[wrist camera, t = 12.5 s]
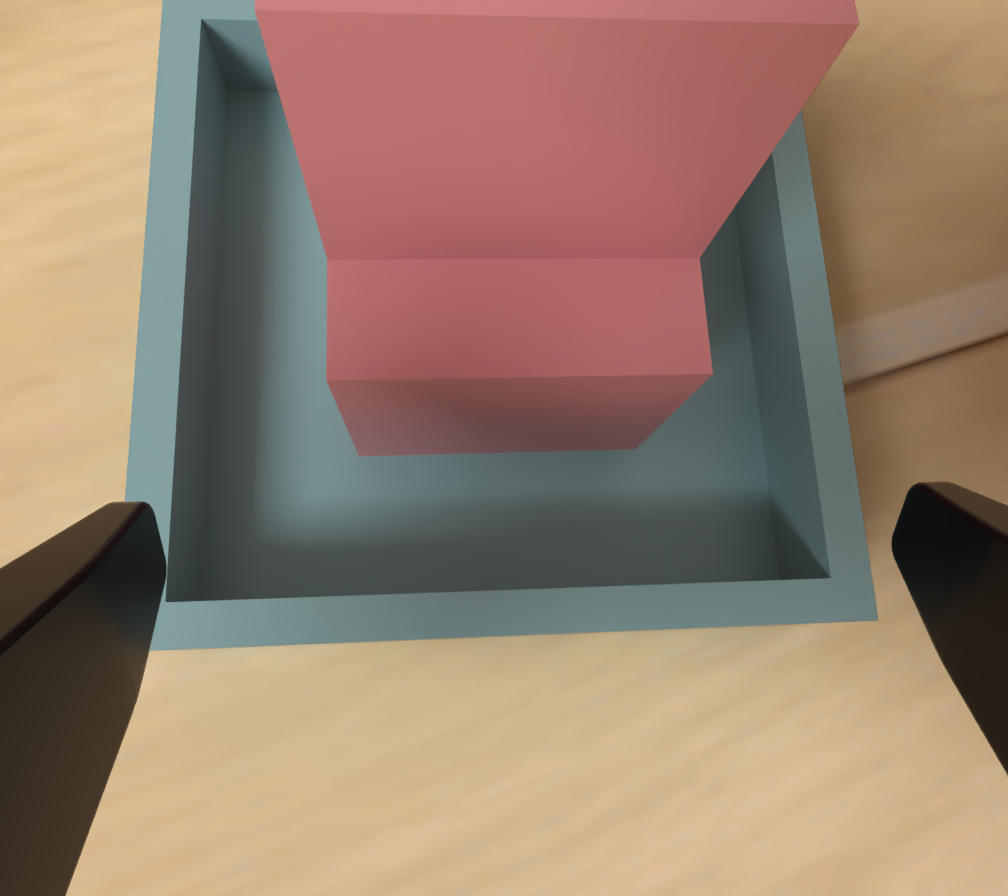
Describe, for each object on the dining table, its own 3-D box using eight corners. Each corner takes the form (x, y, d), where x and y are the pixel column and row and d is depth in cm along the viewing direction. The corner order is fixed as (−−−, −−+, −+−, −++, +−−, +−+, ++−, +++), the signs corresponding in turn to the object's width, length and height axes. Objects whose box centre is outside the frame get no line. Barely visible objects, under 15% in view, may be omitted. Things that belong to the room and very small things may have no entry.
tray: (804, 623, 17) (878, 620, 14) (172, 650, 16) (113, 652, 13) (736, 95, 21) (785, 5, 18) (205, 83, 19) (163, -14, 16)
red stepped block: (635, 449, 17) (892, 201, 7) (358, 456, 17) (248, 198, 7) (609, 156, 19) (790, -355, 9) (358, 154, 18) (268, -391, 9)
